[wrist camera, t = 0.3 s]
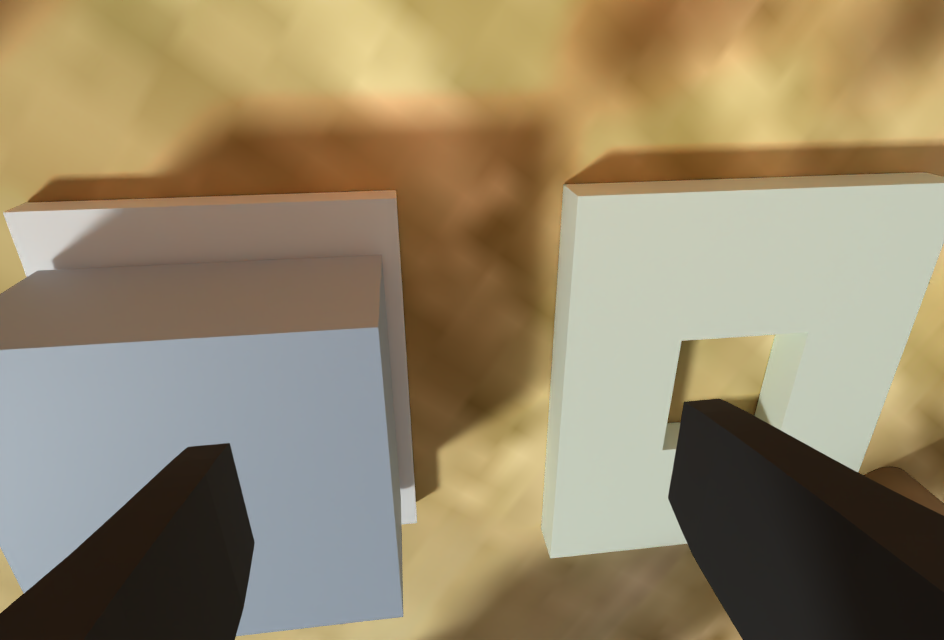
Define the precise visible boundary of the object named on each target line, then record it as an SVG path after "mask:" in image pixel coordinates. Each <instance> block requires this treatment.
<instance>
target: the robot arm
mask: <svg viewBox="0 0 944 640" xmlns="http://www.w3.org/2000/svg"><path fill="white" fill-rule="evenodd" d="M668 500H669V502H670V504H671V507H672V509H673V511H674V514H675V516H676V519H677V521H678V523H679V526H680V528H681V530H682V533H683V535H684V537H685V539H686V541H687V544H688V546H689V548H690V550H691V552H692V555H693V556H694V558H695V560H696V562H697V563H698V565H699V567H700V569H701V570H702V572H703V574H704V575H705V577H706V579H707V580H708V582H709V584H710V586H711V587H712V589H713V591H714V592H715V594H716V596H717V597H718V599H719V601H720V602H721V604H722V606H723V607H724V609H725V611H726V612H727V614H728V616H729V617H730V619H731V621H732V622H733V624H734V626H735V627H736V629H737V631H738V632H739V634H740V636H741V637H742V639H743V640H944V516H943V515H941V514H939V513H937V512H935V511H933V510H931V509H929V508H927V507H925V506H923V505H921V504H919V503H917V502H915V501H913V500H911V499H909V498H907V497H905V496H903V495H901V494H899V493H896V492H894V491H893V490H891V489H889V488H887V487H885V486H883V485H881V484H879V483H877V482H875V481H873V480H871V479H869V478H867V477H866V476H864V475H862V474H860V473H858V472H856V471H854V470H852V469H851V468H849V467H847V466H845V465H843V464H841V463H839V462H838V461H836V460H834V459H832V458H830V457H828V456H826V455H825V454H823V453H821V452H819V451H817V450H816V449H814V448H812V447H810V446H808V445H806V444H805V443H803V442H801V441H799V440H797V439H796V438H794V437H792V436H790V435H788V434H787V433H785V432H783V431H781V430H779V429H777V428H776V427H774V426H772V425H770V424H768V423H767V422H765V421H763V420H761V419H759V418H757V417H755V416H754V415H752V414H750V413H748V412H746V411H744V410H742V409H740V408H738V407H736V406H734V405H732V404H730V403H728V402H726V401H723V400H721V399H711V400H700V401H689V402H684V406H683V412H682V418H681V423H680V429H679V435H678V441H677V447H676V453H675V459H674V465H673V470H672V476H671V482H670V488H669V494H668ZM254 544H255V542H254V538H253V534H252V530H251V526H250V522H249V518H248V514H247V510H246V506H245V502H244V498H243V494H242V490H241V486H240V482H239V478H238V474H237V470H236V466H235V462H234V458H233V454H232V450H231V446H230V443H224V444H213V445H202V446H191V447H187V448H186V449H185V450H183V451H182V452H181V453H180V454H179V455H178V456H176V457H175V458H174V459H173V460H172V461H171V462H170V463H169V464H168V465H167V466H165V467H164V468H163V469H162V470H161V471H160V472H159V473H158V474H157V475H156V476H155V477H154V478H153V479H151V480H150V481H149V482H148V483H147V484H146V485H145V486H144V487H143V488H142V489H141V490H140V491H139V492H138V493H136V494H135V495H134V496H133V497H132V498H131V499H130V500H129V501H128V502H127V503H126V504H125V505H124V506H123V507H121V508H120V509H119V510H118V511H117V512H116V513H115V514H114V515H113V516H112V517H110V518H109V519H108V520H107V521H106V522H105V523H104V524H103V525H102V526H101V527H100V528H98V529H97V530H96V531H95V532H94V533H93V534H92V535H91V536H90V537H89V538H87V539H86V540H85V541H84V542H83V543H82V544H81V545H80V546H79V547H78V548H77V549H75V550H74V551H73V552H72V553H71V554H70V555H69V556H67V557H66V558H65V559H64V560H63V561H62V562H60V563H59V564H58V565H57V566H56V567H55V568H53V569H52V570H51V571H50V572H49V573H47V574H46V575H45V576H44V577H43V578H42V579H40V580H39V581H38V582H37V583H36V584H35V585H33V586H32V587H31V588H30V589H29V590H27V591H26V592H25V593H24V594H23V595H22V596H20V597H19V598H18V599H17V600H16V601H14V602H13V603H12V604H11V605H10V606H9V607H7V608H6V609H5V610H4V611H3V612H2V613H0V640H235V637H236V633H237V630H238V627H239V623H240V619H241V616H242V612H243V609H244V603H245V598H246V592H247V587H248V582H249V576H250V569H251V563H252V557H253V551H254Z"/></svg>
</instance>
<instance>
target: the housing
mask: <svg viewBox="0 0 944 640" xmlns="http://www.w3.org/2000/svg"><path fill="white" fill-rule="evenodd" d="M224 443H230V446H231V450H232V454H233V458H234V462H235V466H236V470H237V474H238V478H239V482H240V486H241V490H242V494H243V498H244V502H245V506H246V510H247V514H248V518H249V522H250V526H251V530H252V534H253V538H254V542H255V544H254V551H253V557H252V563H251V569H250V576H249V582H248V587H247V592H246V598H245V603H244V609H243V612H242V616H241V619H240V623H239V627H238V630H237V633H236V636H241V635H250V634H259V633H267V632H276V631H284V630H293V629H302V628H310V627H319V626H327V625H336V624H345V623H353V622H362V621H370V620H379V619H388V618H396V617H403V581H402V529H401V494H400V481H399V468H398V455H397V442H396V430H395V417H394V404H393V391H392V379H391V366H390V353H389V340H388V327H387V315H386V302H385V289H384V276H383V264H382V255H363V256H341V257H319V258H298V259H276V260H254V261H233V262H211V263H189V264H168V265H146V266H124V267H103V268H81V269H60V270H38V271H36V272H34V273H33V274H31V275H29V276H28V277H26V278H25V279H23V280H22V281H20V282H18V283H17V284H15V285H14V286H12V287H11V288H9V289H8V290H6V291H4V292H3V293H1V294H0V547H1V549H2V551H3V553H4V555H5V557H6V559H7V561H8V563H9V565H10V567H11V569H12V571H13V573H14V575H15V577H16V579H17V581H18V583H19V585H20V587H21V589H22V591H23V593H25V592H26V591H27V590H29V589H30V588H31V587H32V586H33V585H35V584H36V583H37V582H38V581H39V580H40V579H42V578H43V577H44V576H45V575H46V574H47V573H49V572H50V571H51V570H52V569H53V568H55V567H56V566H57V565H58V564H59V563H60V562H62V561H63V560H64V559H65V558H66V557H67V556H69V555H70V554H71V553H72V552H73V551H74V550H75V549H77V548H78V547H79V546H80V545H81V544H82V543H83V542H84V541H85V540H86V539H87V538H89V537H90V536H91V535H92V534H93V533H94V532H95V531H96V530H97V529H98V528H100V527H101V526H102V525H103V524H104V523H105V522H106V521H107V520H108V519H109V518H110V517H112V516H113V515H114V514H115V513H116V512H117V511H118V510H119V509H120V508H121V507H123V506H124V505H125V504H126V503H127V502H128V501H129V500H130V499H131V498H132V497H133V496H134V495H135V494H136V493H138V492H139V491H140V490H141V489H142V488H143V487H144V486H145V485H146V484H147V483H148V482H149V481H150V480H151V479H153V478H154V477H155V476H156V475H157V474H158V473H159V472H160V471H161V470H162V469H163V468H164V467H165V466H167V465H168V464H169V463H170V462H171V461H172V460H173V459H174V458H175V457H176V456H178V455H179V454H180V453H181V452H182V451H183V450H185V449H186V448H187V447H191V446H202V445H213V444H224Z"/></svg>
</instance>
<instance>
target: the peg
mask: <svg viewBox="0 0 944 640" xmlns="http://www.w3.org/2000/svg"><path fill="white" fill-rule="evenodd" d="M864 476H866V477H867V478H869V479H871V480H873V481H875V482H877V483H879V484H881V485H883V486H885V487H887V488H889V489H891V490H893V491H894V492H896V493H899V494H901V495H903V496H905V497H907V498H909V499H911V500H913V501H915V502H917V503H919V504H921V505H923V506H925V507H927V508H929V509H931V510H933V511H935V512H937V513H939V514H941V515H943V516H944V503H942V502H941V501H940V500H939V499H938V498H936V497H935V496H934V495H933V494H932V493H930V492H929V491H928V490H927V489H926V488H924V487H923V486H922V485H921V484H920V483H918V482H917V481H916V480H915V479H914V478H912V477H911V476H910V475H909V474H908V473H906V472H905V471H904V470H902V469H900V468H896V467H885V468H880V469H877V470H874V471H872V472H870V473H868V474H866V475H864Z"/></svg>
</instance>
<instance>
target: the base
mask: <svg viewBox="0 0 944 640" xmlns="http://www.w3.org/2000/svg"><path fill="white" fill-rule="evenodd" d="M3 214H4V217H5V220H6V222H7V225H8V228H9V230H10V233H11V236H12V238H13V241H14V244H15V246H16V249H17V252H18V255H19V257H20V260H21V263H22V265H23V268H24V271H25V273H26V276H27V277H28V276H29V275H31V274H33V273H34V272H36V271H38V270H60V269H81V268H103V267H124V266H146V265H168V264H189V263H211V262H233V261H254V260H276V259H298V258H319V257H341V256H363V255H382V264H383V276H384V289H385V302H386V315H387V327H388V340H389V353H390V366H391V379H392V391H393V404H394V417H395V430H396V442H397V455H398V468H399V481H400V494H401V524H410V523H417V515H416V497H415V481H414V465H413V449H412V434H411V418H410V402H409V386H408V371H407V355H406V339H405V323H404V308H403V292H402V276H401V260H400V245H399V229H398V213H397V197H396V190H384V191H354V192H325V193H296V194H266V195H237V196H207V197H178V198H148V199H119V200H89V201H60V202H30V203H23V204H21V205H19V206H16V207H14V208H12V209H10V210H7V211H5V212H3Z"/></svg>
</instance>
